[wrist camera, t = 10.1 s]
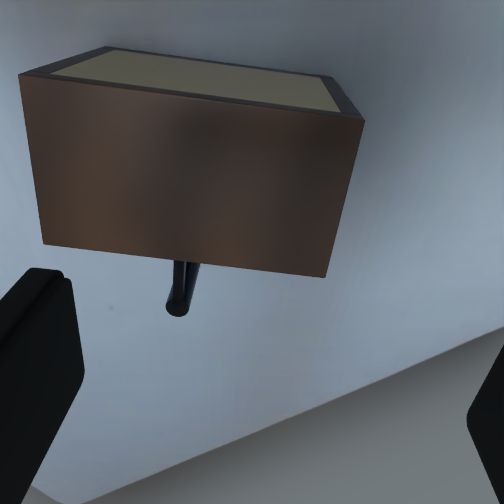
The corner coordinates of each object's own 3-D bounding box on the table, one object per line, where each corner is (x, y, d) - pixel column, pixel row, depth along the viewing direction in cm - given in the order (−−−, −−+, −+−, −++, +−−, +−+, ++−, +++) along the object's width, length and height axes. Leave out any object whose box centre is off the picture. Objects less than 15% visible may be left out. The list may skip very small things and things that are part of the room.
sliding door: (218, 182, 33) (201, 242, 25) (211, 258, 37) (195, 333, 29) (124, 170, 33) (77, 227, 25) (127, 248, 37) (86, 320, 29)
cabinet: (332, 77, 30) (365, 119, 20) (308, 194, 35) (325, 278, 25) (104, 46, 30) (17, 73, 19) (110, 169, 34) (42, 244, 24)
